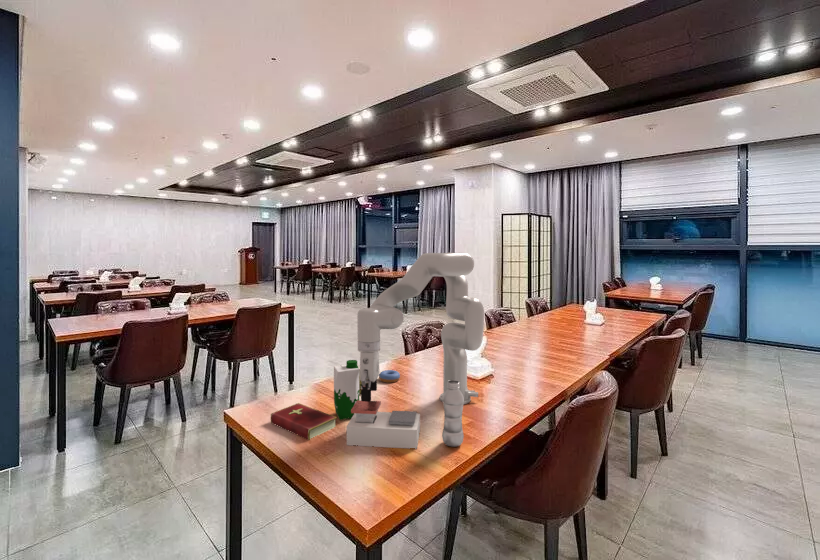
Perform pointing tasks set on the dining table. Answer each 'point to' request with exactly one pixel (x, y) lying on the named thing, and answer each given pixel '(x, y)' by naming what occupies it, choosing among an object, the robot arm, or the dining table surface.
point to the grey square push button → (403, 417)
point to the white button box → (383, 432)
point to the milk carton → (346, 388)
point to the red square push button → (366, 411)
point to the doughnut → (389, 376)
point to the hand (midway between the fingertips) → (369, 395)
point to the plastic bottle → (453, 414)
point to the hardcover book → (303, 420)
